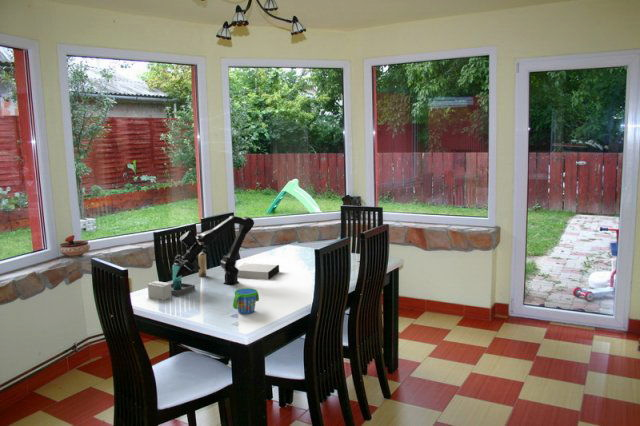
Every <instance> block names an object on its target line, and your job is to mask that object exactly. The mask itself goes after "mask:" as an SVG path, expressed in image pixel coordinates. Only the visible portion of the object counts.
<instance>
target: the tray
mask: <svg viewBox="0 0 640 426" xmlns="http://www.w3.org/2000/svg"><path fill="white" fill-rule="evenodd" d="M181 286H182V289H181V290H173V282H172V283H171V295H172V296H174V297H180V296H184V295H185V294H188V293H191V292H193V291H196V285H195V284H191V283H184V282H181Z"/></svg>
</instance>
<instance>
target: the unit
mask: <svg viewBox="0 0 640 426" xmlns="http://www.w3.org/2000/svg"><path fill="white" fill-rule="evenodd" d="M171 284H172V283H170V282H165V281H164V282H163V281H158V280H155V281H152V282H150V283H147V291H148V292H147V294H148V298H151V299H156V300H157V299H158V300H162V301H164V300H166V299H169V298H171V297H172V296H173V295H171Z"/></svg>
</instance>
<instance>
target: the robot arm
mask: <svg viewBox="0 0 640 426" xmlns="http://www.w3.org/2000/svg"><path fill="white" fill-rule="evenodd" d="M234 224H237V225H238V232H237V233H236V236H235V238H234V241H233V243H232V245H231V247H230V248H229V249H230V250H229V251H228V253H227V254H226V255H222V259H221V260H220V267H221V269H223V271H224V282H223V284H224V285H229V286H234V285H237V284H239V283H240V281H238V277H237V274H238V272H239V270H238V269H237V268H238V267H236V263H237V256H238V253H239V251H240V249H241V247H242V245H243V242H244V240H245V238H246V236H247V234H249V232H250V231H251V230H252V228H253V227H254V224H255V222H254V219H253V218H252V217H249V216H242V217H240V216H235V215H230V216H229V217H228V218H226V219H225V220H224V221H222V222H220V223H219V224H217V225H216V226H215V227H213V228H211V229H209V230H206V231H203V232H201V233H200V234H199V235H198V234H197V235H194V234H193V233H191V231H189V230H188V231H187V232H185V233H183V234H182V235H181V236H180V238H179V241H180V242H181V243H182V244H184V245H185V246H186V247H187V248H189V247H190V248H189V249H186V252H185V254H184V255H181V254H176V255H175V256H174V261H173V264H172V268H171V271H170V273H171V275H173V265H174V263H180V265H181V266H180V268H179V270H178V272H177V274H176V277H177V278H178V277H179V276H181V277H182V275H183V274H185V273H188V272H193V271H195V272H197V271H198V272H199V270H200V269H201V268H200V266H199V262H198V261H197V260H198V255H199V254H200V253H203V251H205V252H208V246H207V245H210V244H212V243H213V242H214V241H215V240H216V238H217V237H218V236H219V235H220V234H221V233H223V232H225V231H226V230H228V229H229V228H230V227H232V226H234ZM195 272H194V273H195Z"/></svg>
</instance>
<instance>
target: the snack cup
mask: <svg viewBox="0 0 640 426" xmlns="http://www.w3.org/2000/svg"><path fill="white" fill-rule="evenodd" d="M233 294H234V297H233V303H232V308H233V310H237V311H238V313H239V314H241V315H249V314H252V313H254V312H255V310H256V309H255V308H256V302H259V301H260V297H259V292H258V290H257V289H255V288H252V287H251V288H250V287H245V288H238V289H235V291H234V292H233Z"/></svg>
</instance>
